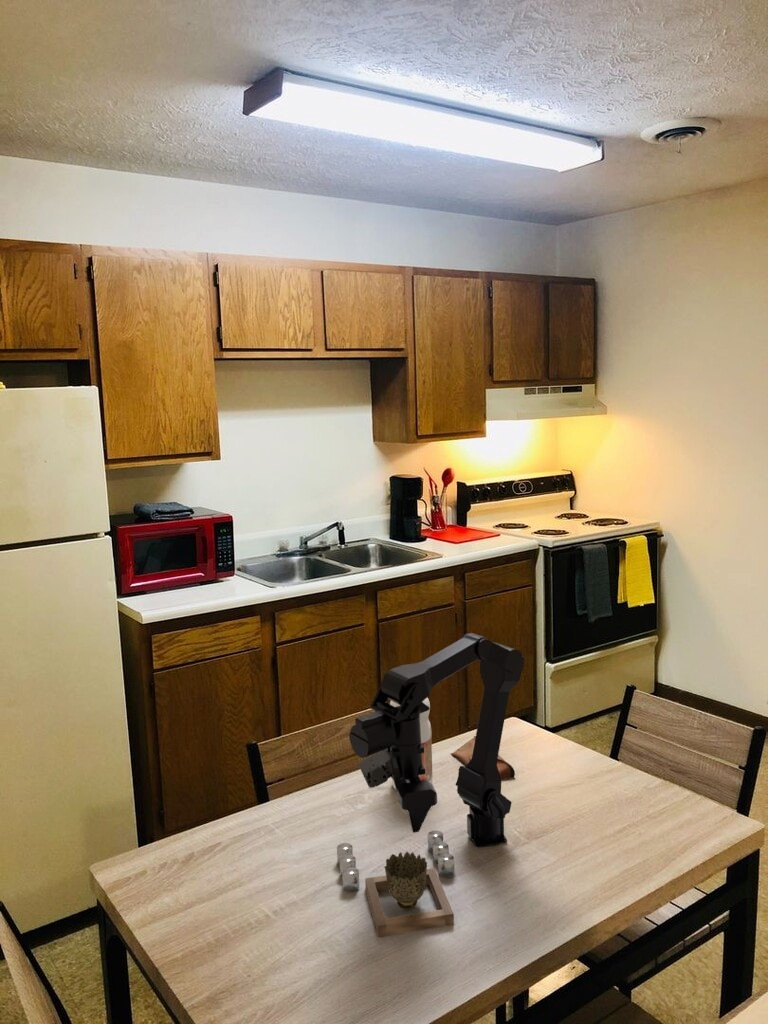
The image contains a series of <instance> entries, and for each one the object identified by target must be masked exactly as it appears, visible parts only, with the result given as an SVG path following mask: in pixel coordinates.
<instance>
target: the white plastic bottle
mask: <svg viewBox="0 0 768 1024" xmlns="http://www.w3.org/2000/svg"><path fill="white" fill-rule="evenodd" d="M422 702H423V703H424V704H425V705H427V706H429V710H428V711H426V712H423V713H421V714H420V729H421V743H422V745H423V746H424V753H422V764H423V766H424V768H425V774H422V775H419V778H420V780H421V781H422V780H427V781H428V782H430V783H431V784H432V785H433V782H434V780H433V779H434V778H433V750H432V749H433V745H432V743H433V742H432V741H433V740H432V726H431V721H430V719H429V715H430V712H431V711H430V710H431V704H430V700H429V698H428V697H427V698H426V699H425V700H424V701H422ZM389 704H390V705H392V706H394V707H397V706H400V705H399V704H397V703H395V702H393V701H391V700H389ZM391 784H392V787H393V789H394V790H395V791H396V787H395V784H394V781H393V779H392V778H391Z"/></svg>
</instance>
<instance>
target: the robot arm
mask: <svg viewBox="0 0 768 1024" xmlns="http://www.w3.org/2000/svg"><path fill="white" fill-rule="evenodd" d="M477 660H478V661H479V674H480V677H481V678H480V679H481V680H482V683H483V687H484V688H483V695H482V699H481V705H480V710H479V717H478V721H477V728H476V733H475V736H476V738H475V743H474V749H473V755H472V758H471V760H470V761H469V762H468V763H467V764H466V765H460V766H459V768H458V774H457V775H458V776H457V780H456V782H455V786H456V787H457V789H456V792H457V794H458V796H459V797H460V799H461V800H462V802H463V804H465V805H466V806H468V807H469V813H468V814H466V825H467V827H466V828H467V829H466V833H467V834H468V836H469V838H470V840H472V842H473V845H474V847H477V848H480V847H482V848H483V847H487V846H488V847H489V846H495V845H500V844H501V845H503V844H507V842H508V839H507V837H506V836H505V818H506V815H508V814H509V813H510V812H511V807H512V801H511V800H510V799H508V798H507V797H506V796H505V795H503V794H502V781H503V780H501V777H500V774H499V770H498V767H497V759H498V755H499V753H500V747H501V741H502V735H503V730H504V724H505V719H506V718H505V717H506V713H507V706H508V702H509V696H510V692H511V691H512V690H514V688H515V687H516V686H517V685H518V683H519V681H520V680H521V677H522V672H523V670H524V666H525V656H524V655H523V654H522V652H521V651H520V650H519V649H516V648H512V647H510V646H507V645H505V644H501V643H497V642H494V641H492V640H489V639H488V638H487V637H485V636H482V635H480V634H479V635H478V634H477V633H476V634H475V633H472V632H469V633H466V634H464V635H462V637H461V638H460V639H459V640H457V641H455V642H453V643H452V644H450V645H448V646H446V647H445V648H442V649H441V650H439V651H437V652H436V653H434V654H432V655H431V656H429V657H427V658H426V659H423V660H422V661H420V662H416V663H409V664H408V663H407V664H402V665H399V666H396V667H394V668H391V669H389V670H387V671H386V672H385V674H384V675H383V678H382V681H381V683H380V685H379V688H378V690H377V692H376V693H375V695H374V698H373V700H372V702H371V704H370V709H371V710H372V711H374V712H373V713H372V712H371V713H370V714H367V715H362V716H358V717H356V718H355V719H354V721H355V724H353V725H352V727H351V728H350V730H349V733H348V737H349V743H350V746H351V748H352V750H353V751H354V754H355V755H357V757H359V758H361V759H363V760H361V761H359V763H358V766H359V769H360V772H361V774H362V776H363V778H364V780H365V783H366V784H367V786H368V788H370V789H372V788H375V787H378V786H380V785H382V784H384V783H386V782H387V781H388V780H389V779H391V780H392V779H393V781H394V784H395V787H396V790H395V791H396V794H397V798H398V803H399V805H400V807H401V809H402V810H404V811H407V815H408V818H409V822H410V827H411V831H412V833H413V834H414V833H419V832H420V830H421V828H422V825H423V823H424V822H425V819H426V817H427V815H428V813H429V811H430V810H431V807H433V806H436V805H437V804H438V795H437V791H436V790H435V787H434V786H433V783H432V784H431V783H430V782H428V781H427V780H422V781H421V780H420V778H419V775H422V774H425V768H424V766H423V764H422V753H424V746H423V745H422V743H421V729H420V714H421V713H423V712H426V711H428V710H429V706H427V705H425V704H424V703H423V702H422V701H424V700H425V699H426V698H428V697H429V696H430V695H431V693H432V691H433V688H434V687H435V686H436V685H437V684H439V683H440V682H442V681H444V680H445V679H448V678H449V677H450V676H452V675H454V674H455V673H457V672H459V671H460V670H463V669H464V668H466V667H467V666H469V665H471V664H473V663H474V662H476V661H477ZM388 700H389V701H393V702H395V703H397V704H399V705H400V706H397V707H394V706H392V705H390V703H388V702H387V701H388Z"/></svg>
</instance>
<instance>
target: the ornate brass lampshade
mask: <svg viewBox="0 0 768 1024" xmlns="http://www.w3.org/2000/svg"><path fill="white" fill-rule="evenodd" d="M402 853H403V852H399V853H398V855H396V854H393V853H392V854H391V855H390V857H389V858H386V860H385V863H386V864H385V866H384V871H385V875H386V878H387V884H388V888H389V890H388V891H389V894H390V896H391V898H392V899H393V900H394V901H396V904H397V906H398V908H399V909H401V910H403V911H412V910H414V909H416V907H417V904H418V902H419V900H420V899H421V898H422V896H424V895H423V894H424V892H425V888H426V885H425V883H426V873H427V869H428V862H427V860H426V858H425V857H421V855H420V853H419V854H418V855H417V857H416V855H415V853H414V852H413V851H412V852H411V853H410V852H409V851H406V852H405V853H404V855H403V854H402Z"/></svg>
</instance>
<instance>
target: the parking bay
mask: <svg viewBox="0 0 768 1024" xmlns="http://www.w3.org/2000/svg"><path fill="white" fill-rule="evenodd" d="M437 873H438V872H437V871H436V869H435V867H434V868H427V873H426V883H425V886H426V885H428V886H429V889H430V890H431V892H432V896H433V898H434V901H435V903H436V906H437V909H436V910H430V911H424V912H417V913H412V914H404V915H398V916H393V917H386V918H385V914H384V910H383V907H382V903H381V899H380V897H379V893H380V892H387V891H389V888H388V884H387V878H386V874H385V875H379V876H373V877H367V878H365V880H364V881H365V882H364V884H365V891H366V895H367V898H368V903H369V906H370V910H371V915H372V919H373V923H374V924H375V925H374V926H375V930H376V934H377V937H385V936H390V935H391V936H392V935H397V934H404V933H409V932H417V931H422V930H427V929H429V930H430V929H435V928H440V927H445V926H451V925H452V926H453V925H455V920H454V918H455V916H454V915H455V914H454V911H453V909H452V906H451V905H450V901H449V899H448V897H447V895H446V893H445V890H444V888H443V885H442V883H441V880H440V878H439V874H437Z"/></svg>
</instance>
